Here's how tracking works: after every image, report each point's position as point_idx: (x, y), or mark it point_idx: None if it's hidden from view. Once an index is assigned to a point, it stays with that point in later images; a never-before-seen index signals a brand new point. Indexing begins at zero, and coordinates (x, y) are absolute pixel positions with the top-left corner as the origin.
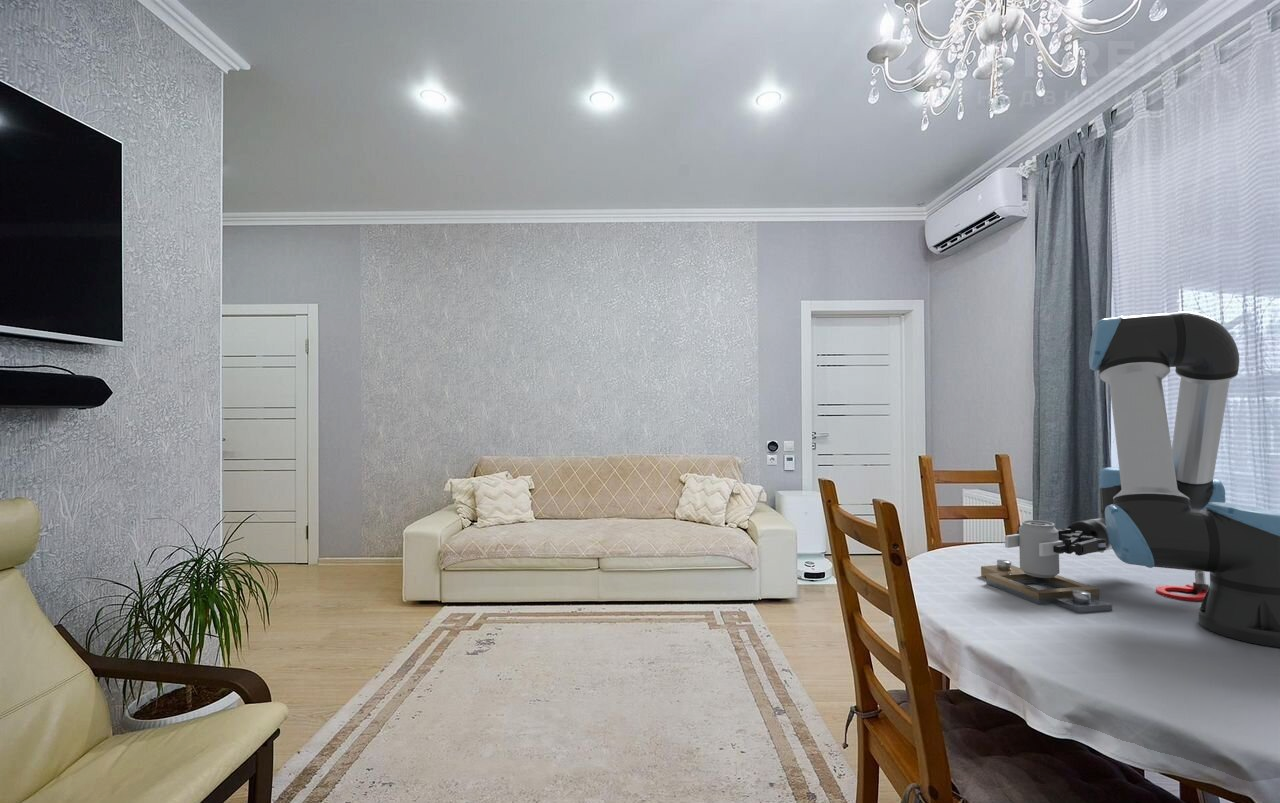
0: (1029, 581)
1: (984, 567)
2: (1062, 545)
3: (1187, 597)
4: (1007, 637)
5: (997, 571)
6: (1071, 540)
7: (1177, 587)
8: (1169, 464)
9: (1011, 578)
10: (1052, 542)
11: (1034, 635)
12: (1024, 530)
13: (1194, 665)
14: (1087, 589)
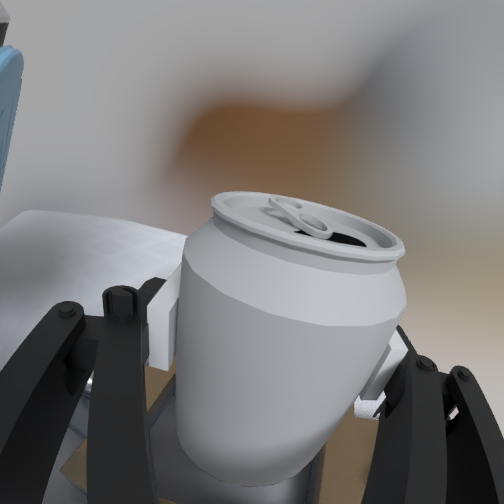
0: (309, 498)
1: None
2: (143, 300)
3: None
4: (156, 246)
5: (369, 424)
6: (111, 371)
7: None
8: None
9: None
10: (180, 268)
11: (136, 257)
12: (302, 231)
13: (3, 260)
14: (86, 439)
